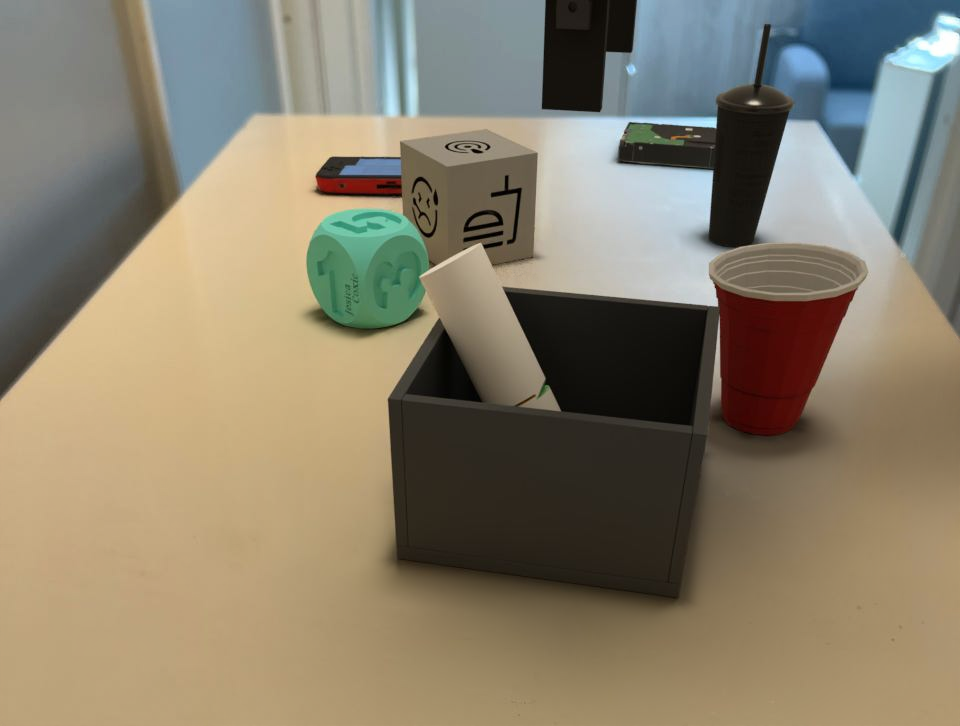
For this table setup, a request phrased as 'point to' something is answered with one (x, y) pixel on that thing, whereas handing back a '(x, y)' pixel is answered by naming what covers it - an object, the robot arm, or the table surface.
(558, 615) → the table surface
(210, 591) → the table surface
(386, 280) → the decorative dice
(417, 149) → the icon cube
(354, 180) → the game console
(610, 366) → the bin
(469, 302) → the tube
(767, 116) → the drinking cup
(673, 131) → the disk drive
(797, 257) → the plastic cup
